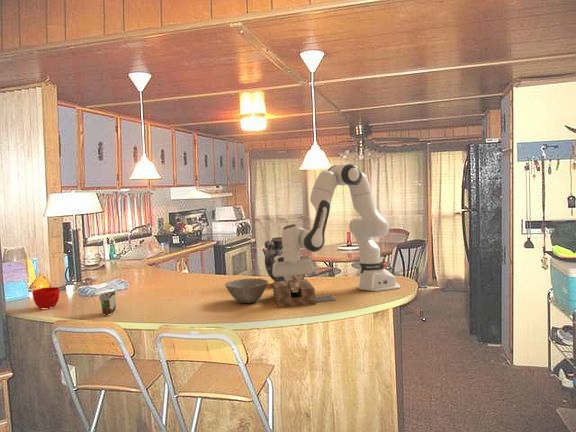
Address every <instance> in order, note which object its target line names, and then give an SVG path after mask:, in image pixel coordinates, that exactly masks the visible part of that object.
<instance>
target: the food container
mask: <svg viewBox="0 0 576 432" xmlns="http://www.w3.org/2000/svg"><path fill="white" fill-rule="evenodd" d="M98 299H99V301H100V304H101V305H100V306H101V310H102V315H103V314H105V315H108V314H111V313H113V312H114V311H115V309H116V310H117V307H116V306H117V305H116V304H117V303H116V291H115V290H114V291H113V290H112V291H107V292H102V293H100V294H99V298H98ZM114 313H115V312H114ZM114 313H113V314H114Z"/></svg>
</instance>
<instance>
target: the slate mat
mask: <svg viewBox="0 0 576 432" xmlns="http://www.w3.org/2000/svg"><path fill="white" fill-rule="evenodd" d="M323 302H336V298H334V296H333V295H332V294H328V295H327V294H326V295H317V296H316V295H315V303H323Z"/></svg>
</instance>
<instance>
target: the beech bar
mask: <svg viewBox="0 0 576 432" xmlns="http://www.w3.org/2000/svg"><path fill="white" fill-rule="evenodd" d="M289 289H290V290H291V291H292V290H299V281H295V282H290V285H289Z"/></svg>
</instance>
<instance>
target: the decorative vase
mask: <svg viewBox="0 0 576 432" xmlns="http://www.w3.org/2000/svg"><path fill="white" fill-rule="evenodd" d="M264 248H265V249H267V251H266V253H265V254H264V267H265V270H266V272H267V275H268V277H270V278H271V280H273V282H278V281H286V280H285V279H284V276H281V277H274V276H273V263H274V262H275V261H274V257H276V256H278V255H281V254H283V245H282V236H280V237H272V238H271V240H269V239H268V240H266V241H265V242H264Z"/></svg>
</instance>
